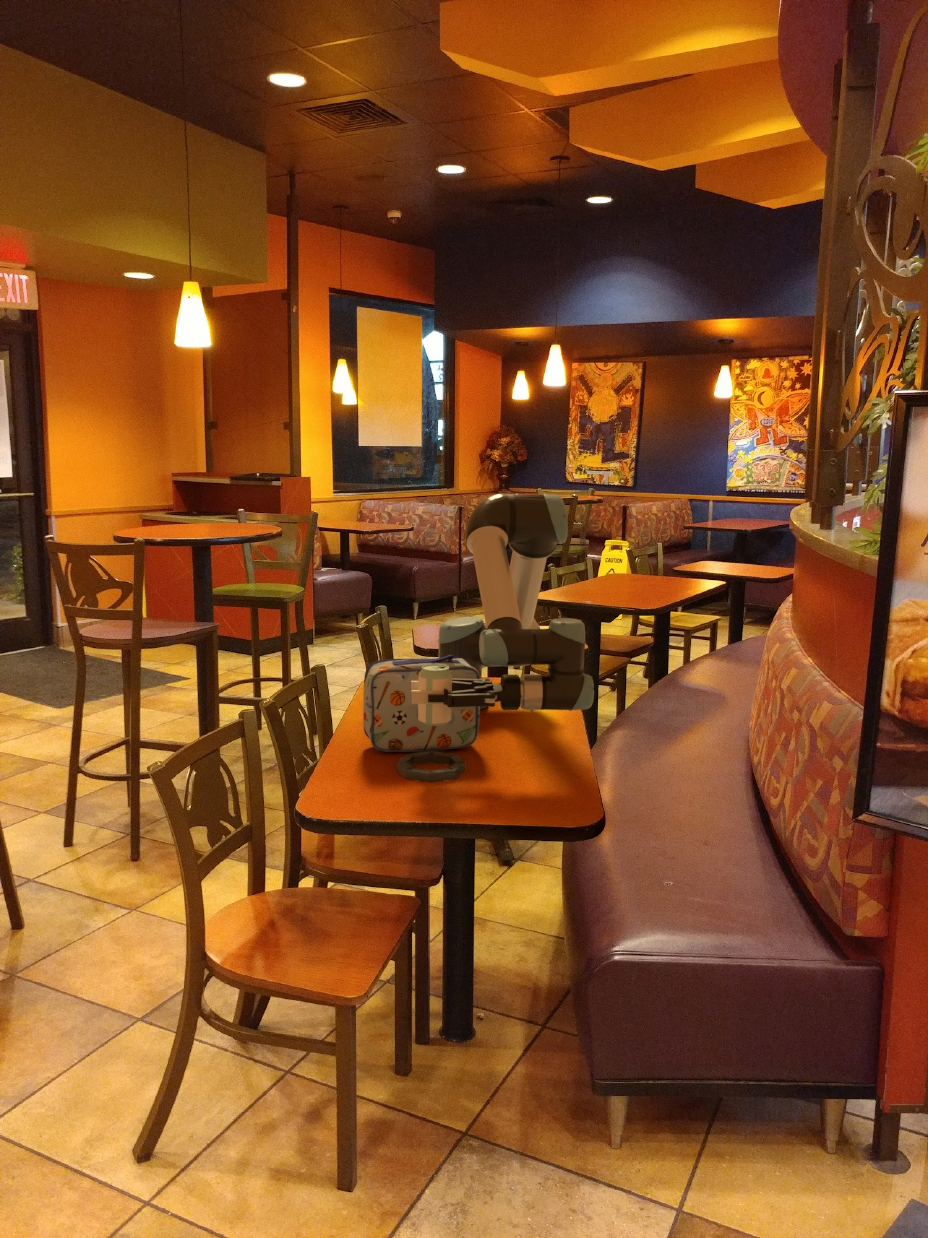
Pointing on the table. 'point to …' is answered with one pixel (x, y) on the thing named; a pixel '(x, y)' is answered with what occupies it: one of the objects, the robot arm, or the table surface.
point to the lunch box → (413, 708)
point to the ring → (431, 775)
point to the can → (434, 680)
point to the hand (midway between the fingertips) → (411, 692)
